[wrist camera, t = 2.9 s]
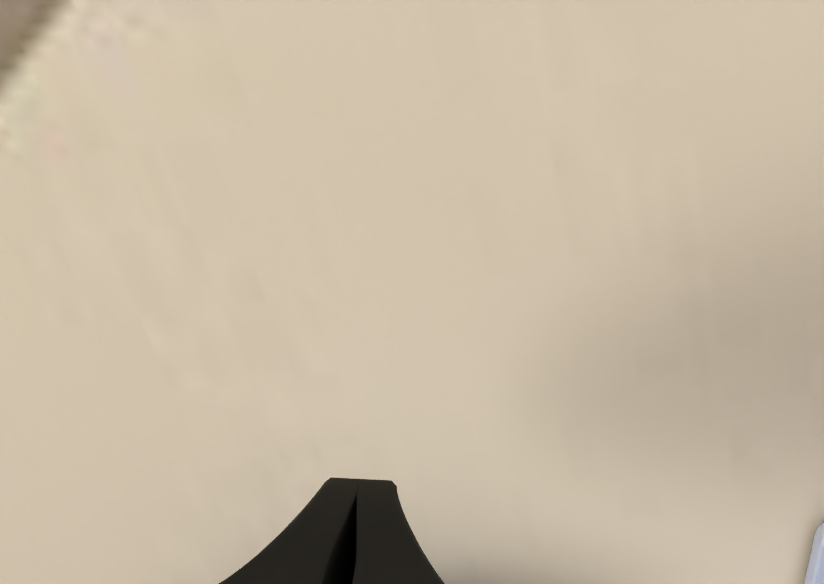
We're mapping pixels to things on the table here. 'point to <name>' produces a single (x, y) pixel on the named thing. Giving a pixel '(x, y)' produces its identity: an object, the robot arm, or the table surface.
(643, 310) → the table surface
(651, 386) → the table surface
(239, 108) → the table surface
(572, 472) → the table surface
